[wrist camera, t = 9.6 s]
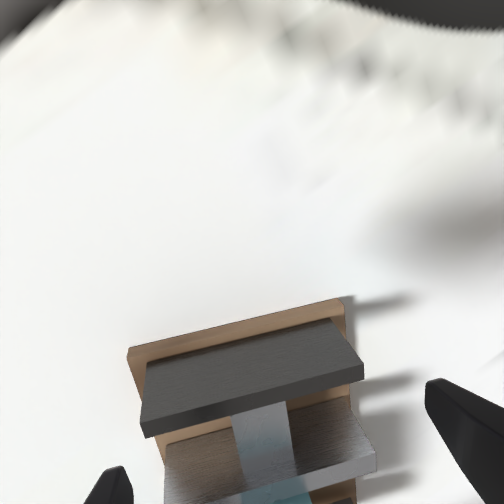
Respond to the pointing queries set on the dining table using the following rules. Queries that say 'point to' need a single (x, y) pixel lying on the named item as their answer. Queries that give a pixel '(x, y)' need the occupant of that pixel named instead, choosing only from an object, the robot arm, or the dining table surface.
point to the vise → (323, 499)
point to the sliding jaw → (257, 417)
